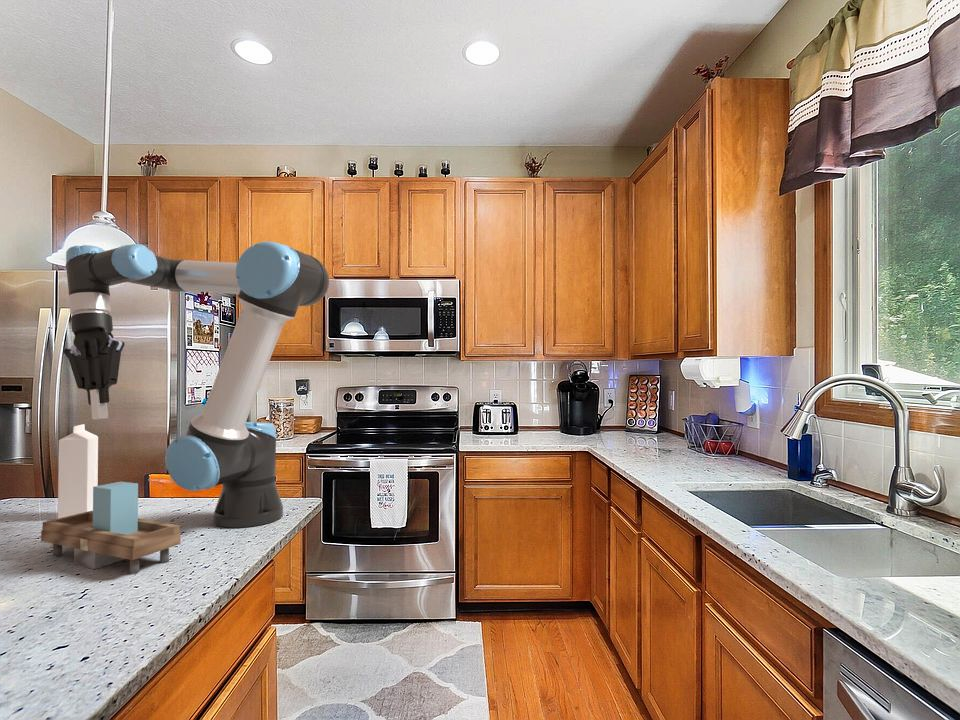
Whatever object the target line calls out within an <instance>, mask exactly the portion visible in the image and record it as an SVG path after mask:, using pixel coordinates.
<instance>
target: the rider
mask: <svg viewBox="0 0 960 720" xmlns="http://www.w3.org/2000/svg"><path fill="white" fill-rule="evenodd" d="M138 510H139V483H137V482H135V483H134V482H129V481H128V482H127V481H116V482H111V483H106V484H100V485H98V486H95V487H93V528H96V529H98V530H104V531H109V532H115V533H120V534H126V535H127V534H130V533H133V532H137V531H138V519H139V517H138V516H139V513H138V512H139V511H138Z"/></svg>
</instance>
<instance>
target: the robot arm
mask: <svg viewBox="0 0 960 720" xmlns="http://www.w3.org/2000/svg"><path fill="white" fill-rule="evenodd" d="M65 271H66V277H67V279H66V280H67V290H68V298H69V303H68V304H69V313H70V315H71V317H70V327H71V332H72V333H73V334H74V339H73V344H72V346H70V348H64V349H63V351H62V352H63V354H64V356H66V358H67V359H68V362H69V366H70V369H71V370H72V374H73V378H74V381H75V384H76V387H77V389H81V390H86V392H87V403H88V404H89V406H90V407H91V418H92V420H105V419H109V412H108V409H109V408H108V403H110V393H109V392H110V391H109V389H110V387H112V386H114V385H117V383H118V377H119V370H120V364H121V357H122V355H121V354H122V351H123V349H124V347H125V341H121V340H117V339H115V338H114V337H115V336H114V335H113V333H112V332H113V329H114V326H113V316H112V315H111V313H112V309H111V308H112V307H111V306H112V304H111V293H110V287H111V286H115V285H120V284H123V283H124V284H125V283H131V284H137V285H142V286H146V287H152V288H158V289H163V290H168V291H170V292H177V293H178V292H179V293H181V292H182V293H183V292H184V293H185V292H197V293H199V292H200V293H202V292H203V293H211V294H212V293H213V294H214V293H215V294H230V295H238V296H237V300H238V301H239V303H240V306H241V310H240V314H239V315H238V319H237V321H236V324H235V327H234V329H233V332H232V335H231V337H230V340H229V343H228V344H227V345H228V346H227V348H226V351H225V353H224V356H223V357H222V360H221V363H220V366H219V369H218V372H217V374H216V376H215V379H214V382H213V385H212V387H211V390H210V393H209V395H208V397H207V401H206V403H205V406H204V408H203V411H202V413H200V414H197V415H195V416H193V417H192V418H191V420H190V422H189V424H188V428H187V431H186V433H185V434H182V435H179V436H178V437H177V438H175V439H173V440H172V441H171V442H170V444H169V445H168V446H167V449H166V452H165V457H164V458H165V466H166V470H167V472H168V473H169V477H170V479H171V480H172V481H173V482H174V483H175V484H176V485H177V486H178V487H179V488H182V489H184V490H186V491H190V492H197V491H202V490H210V489H211V488H215V487H217V486H219V485H222V486H221V487H222V488H221V491H220V494H219V496H218V500H217V502H216V506H215V508H214V511H213V524H214V525H216V526H218V527H224V528H248V527H250V528H251V527H257V526H261V525H266V524H270V523H273V522H275V521H278V520H280V519H282V517H283V516H284V504H283V502H282V499H281V496H280V493H279V491H278V487H277V484H276V471H277V470H276V464H277V463H276V462H277V461H276V458H277V457H276V456H277V455H276V454H277V453H276V452H277V434H276V427H275V425H274V424H273V423H271V422H258V421H257V422H256V421H254V422H253V421H247V420H248V417H249V415H250V412H251V410H252V408H253V405H254V402H255V399H256V397H257V395H258V392H259V390H260V386H261V385H262V381H263V379H264V376H265V373H266V371H267V368H268V365H269V363H270V360H271V357H272V355H273V353H274V350H275V348H276V345H277V343H278V340H279V337H280V335H281V333H282V329H283V327H284V324H285V323H287V322H288V321H292V320H293V319H295V317H296V314H297V311H298V309H299V307H308V306H313V305H315V304H317V303H319V302H320V301H322V299H323V298H324V297H325V296H326V294H327V292H328V290H329V286H330V276H329V273H328V270H327V269H326V267H325V265H324V264H323V262H322V261H320V260H319V259H318V258H316V257H314V256H312V255H311V254H307V253H304V252H302V251H299V250H297V249H294V248H293V247H291V246H288V245H286V244H282V243H278V242H275V241H260V242H257V243H255V244H252V245H251V246H249V247H248V248H246V250H245V251H243V253H242V254H241V255H240V257H239V259H238V260H237V262H229V261H226V262H225V261H210V260H207V261H206V260H194V259H193V260H192V259H190V260H189V259H173V258H167V257H163V256H159V255H155V253H154V252H153V251H152V250H151V249H149V248H148V247H147V246H146V245H143V244H140V243H135V244H133V243H132V244H125V245H121V246H118V247H116V248H112V249H108V250H105V249H103V248H101V247H100V246H95V245H91V244H90V245H86V244H83V245H72V246H71V247H69V248H68V249H66V252H65Z"/></svg>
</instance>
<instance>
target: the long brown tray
mask: <svg viewBox="0 0 960 720" xmlns="http://www.w3.org/2000/svg"><path fill="white" fill-rule="evenodd" d="M180 528H181V527H180V525H178V524H173V523H166V522H161V521H157V520H156V521H155V520H148V519H142V518H138V531H137V532H133V533H130V534H127V535H126V534H120V533H115V532H109V531H104V530H98V529H96V528H93V511H88V512H84V513H80V514H76V515H71V516H67V517H63V518H59V519H58V518H55V519H51V520H46V521H42V529H41V531H40V535H41V536H40V541H41V542H43V543H50V544H52V557H53V556H57V557H61V556H63V547H66V548H72V549H73V565H74V564H76V565H75V566H78V565H80V567H83V566H84V568H87V567H88V568H89V569H93V570H96V569H100V568H103V567H106V566H109V565H112V564H114V563H117V562H118V563H119V562H120V561H121V562H122V561H123V560H129V575H135V574H138V572H139V573H140V558H144V557H146V556H148V555H149V556H150V555H153V554H155V553H158V552H159V563H160V564H165V563H168V562H170V548H173V547H176V546H178V545H181V541H182V540H181V534H182V533H181V529H180ZM60 555H61V556H60ZM102 566H103V567H102ZM88 568H87V569H88Z"/></svg>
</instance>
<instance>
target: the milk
mask: <svg viewBox="0 0 960 720" xmlns="http://www.w3.org/2000/svg"><path fill="white" fill-rule="evenodd" d="M85 426H86V424H85V423H83V424H77V425H74V426H73V430H72V433H70V434H68V435H66V436H64V437H63V438H60V439H59V440H58V472H57V473H58V478H57V479H58V480H57V481H58V484H57V485H58V486H57V494H58V495H57V519H59V518H63V517H67V516H71V515H76V514H80V513H84V512H88V511H93V487H95V486H99V485H98V484H99V483H98V482H99V481H98V477H99V475H98V474H99V472H98V471H99V468H98V467H99V436H98V435H96V434H95V433H91V432H89V431H88V430H86V429H85V428H86V427H85Z"/></svg>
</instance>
